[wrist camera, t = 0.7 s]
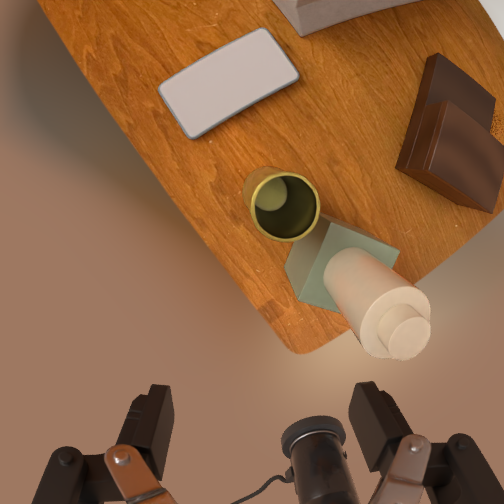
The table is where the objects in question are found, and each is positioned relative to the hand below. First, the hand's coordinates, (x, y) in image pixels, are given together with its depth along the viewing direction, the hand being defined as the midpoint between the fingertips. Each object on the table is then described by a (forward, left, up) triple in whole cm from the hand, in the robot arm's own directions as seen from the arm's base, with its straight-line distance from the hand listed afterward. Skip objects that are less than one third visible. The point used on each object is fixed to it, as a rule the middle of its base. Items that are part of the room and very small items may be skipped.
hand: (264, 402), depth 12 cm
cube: (+3, -9, -27) cm, 28 cm away
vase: (+7, 0, -27) cm, 28 cm away
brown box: (+25, -20, -27) cm, 42 cm away
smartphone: (+18, +9, -27) cm, 33 cm away
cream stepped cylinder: (+3, -9, -17) cm, 19 cm away
